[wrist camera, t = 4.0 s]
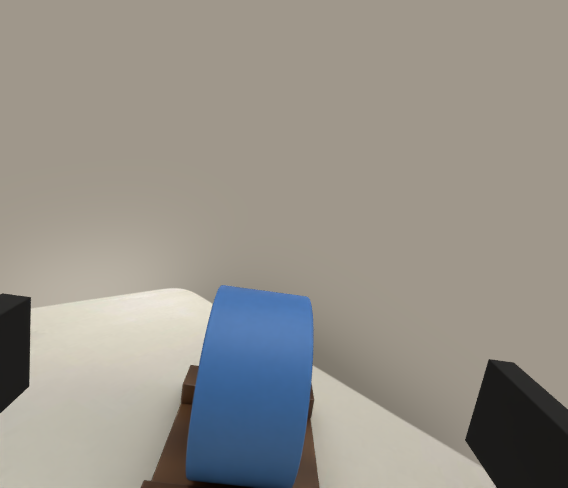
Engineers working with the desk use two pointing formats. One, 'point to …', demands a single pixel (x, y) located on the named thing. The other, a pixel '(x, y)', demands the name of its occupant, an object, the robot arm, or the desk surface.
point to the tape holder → (172, 464)
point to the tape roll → (252, 390)
